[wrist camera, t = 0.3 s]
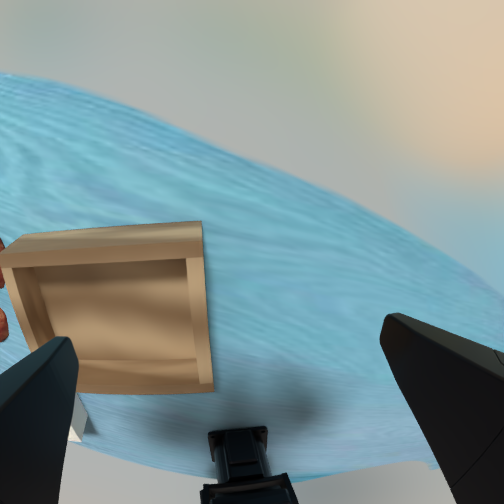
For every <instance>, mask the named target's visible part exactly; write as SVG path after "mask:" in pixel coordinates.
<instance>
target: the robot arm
mask: <svg viewBox="0 0 504 504" xmlns="http://www.w3.org/2000/svg"><path fill="white" fill-rule="evenodd" d="M380 345H381V347H382V349H383V352H384V354H385V356H386V359H387V361H388V363H389V366H390V368H391V371H392V373H393V375H394V378H395V380H396V382H397V384H398V386H399V388H400V390H401V392H402V394H403V396H404V397H405V399H406V401H407V403H408V405H409V407H410V409H411V411H412V412H413V414H414V416H415V418H416V420H417V422H418V424H419V426H420V428H421V430H422V432H423V434H424V436H425V438H426V440H427V442H428V444H429V446H430V448H431V450H432V452H433V454H434V456H435V458H436V460H437V462H438V464H439V466H440V468H441V470H442V472H443V474H444V477H445V479H446V481H447V483H448V485H449V487H450V488H451V489H450V490H451V492H452V494H453V497H454V499H455V501H456V503H457V504H504V353H502V352H500V351H497V350H495V349H494V350H493V349H492V348H489V347H487V346H484V345H482V344H479V343H476V342H474V341H471V340H469V339H466V338H463V337H461V336H458V335H456V334H453V333H450V332H448V331H445V330H443V329H440V328H437V327H435V326H432V325H430V324H427V323H425V322H422V321H419V320H417V319H414V318H412V317H409V316H406V315H404V314H401V313H392V314H388V315H386V317H385V319H384V322H383V326H382V330H381V334H380ZM78 372H79V361H78V357H77V355H76V352H75V349H74V346H73V343H72V341H71V339H70V338H69V337H67V336H56V337H54V338H53V339H51V340H50V341H48V342H47V343H45V344H44V345H42V346H41V347H39V348H38V349H36V350H35V351H33V352H32V353H31V354H29V355H28V356H26V357H25V358H23V359H22V360H20V361H19V362H18V363H16V364H15V365H13V366H12V367H10V368H9V369H8V370H6V371H5V372H3V373H2V374H0V504H58V500H59V492H60V484H61V477H62V470H63V463H64V457H65V452H66V446H67V441H68V436H69V431H70V426H71V421H72V416H73V410H74V402H75V394H76V386H77V379H78ZM267 435H268V430H267V427H265V426H263V427H255V428H247V429H238V430H228V431H216V432H209V433H208V440H209V446H210V451H211V457H212V461H213V462H215V464H216V472H217V480H218V484H203V490H201V491H200V499H201V504H299V503H298V500H297V497H296V495H295V492H294V490H293V487H292V485H291V482H290V480H289V477H288V475H287V473H282V474H281V475H275V476H272V475H271V471H270V467H269V463H268V459H267V455H266V448H267Z"/></svg>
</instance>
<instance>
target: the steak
mask: <svg viewBox="0 0 504 504" xmlns="http://www.w3.org/2000/svg"><path fill="white" fill-rule="evenodd" d="M4 249H5V246H4V244H3V242H2V240H1V238H0V252H1V251H2V250H4ZM4 284H5V280H4V277H3V273H2V270H1V266H0V288H1V289H2V288H4ZM8 331H9V330H8V323H7V317H6V315H5V313H4V311H3V310H2V309H1V308H0V342H2V341H3V340H5V339H6V338H7V337H8V335H9V332H8Z"/></svg>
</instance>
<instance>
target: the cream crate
mask: <svg viewBox="0 0 504 504" xmlns="http://www.w3.org/2000/svg"><path fill="white" fill-rule="evenodd" d="M87 416H88V414H87V412H86V410H85V408H84V406H83V405H82V403H81V401H80V399H79V396H78V394H77V392H76V394H75V402H74V410H73V416H72V421H71V426H70V431H69V436H68V440H69V441H77V442H82V437H83V433H84V429H85V425H86V420H87Z"/></svg>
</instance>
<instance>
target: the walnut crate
mask: <svg viewBox="0 0 504 504" xmlns="http://www.w3.org/2000/svg"><path fill="white" fill-rule="evenodd" d="M0 266H1V270H2V273H3V277H4V280H5V284H6V287H7V290H8V293H9V296H10V299H11V302H12V305H13V308H14V311H15V314H16V316H17V319H18V322H19V324H20V327H21V330H22V332H23V335H24V337H25V340H26V342H27V344H28V347H29V349H30V351H31V353H32V352H33V351H35V350H36V349H38V348H39V347H41V346H42V345H44V344H45V343H47V342H48V341H50V340H51V339H53V338H54V337H56V336H67V337H69V338H70V339H71V341H72V343H73V346H74V349H75V352H76V355H77V357H78V361H79V372H78V379H77V386H76V392H80V393H97V394H129V395H153V394H186V393H204V392H214V384H213V374H212V364H211V353H210V342H209V331H208V318H207V305H206V292H205V277H204V260H203V242H202V224H201V221H188V222H171V223H155V224H140V225H126V226H113V227H100V228H88V229H76V230H65V231H54V232H43V233H33V234H24V235H22V236H21V237H19V238H18V239H17V240H15V241H14V242H13V243H11V244H10V245H9V246H8V247H6V248H5V249H4V250H2V251H1V252H0Z"/></svg>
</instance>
